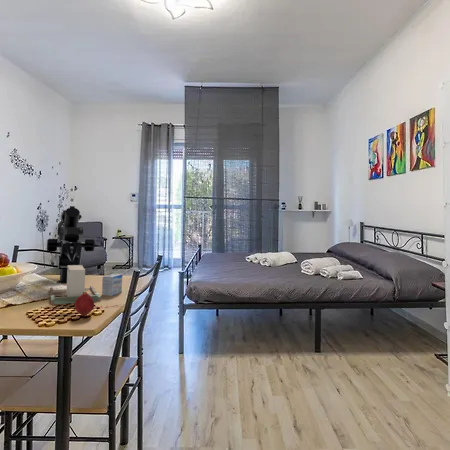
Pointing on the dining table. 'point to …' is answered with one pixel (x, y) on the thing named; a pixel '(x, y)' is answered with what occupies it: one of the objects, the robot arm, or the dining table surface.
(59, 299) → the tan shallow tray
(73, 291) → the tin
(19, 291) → the dining table surface
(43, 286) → the dining table surface
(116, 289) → the medicine box
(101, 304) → the dining table surface
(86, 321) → the dining table surface
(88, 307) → the onion
